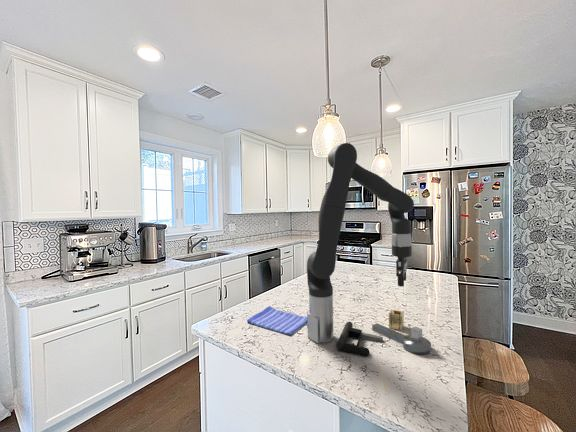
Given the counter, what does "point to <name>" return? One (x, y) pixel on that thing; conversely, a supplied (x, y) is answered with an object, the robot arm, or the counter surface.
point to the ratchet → (407, 339)
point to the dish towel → (278, 321)
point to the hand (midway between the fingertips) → (402, 283)
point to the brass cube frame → (396, 319)
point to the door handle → (357, 334)
